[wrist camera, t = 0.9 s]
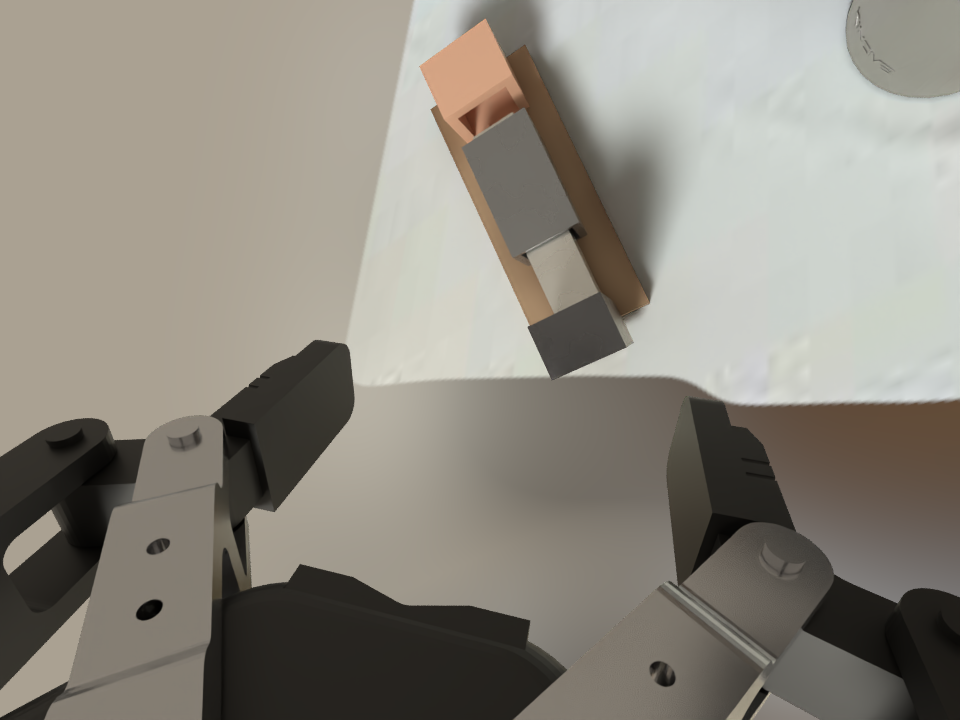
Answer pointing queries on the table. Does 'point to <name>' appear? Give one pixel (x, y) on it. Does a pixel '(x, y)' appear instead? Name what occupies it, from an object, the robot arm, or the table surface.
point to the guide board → (601, 239)
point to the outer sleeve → (522, 185)
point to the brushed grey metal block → (572, 307)
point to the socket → (473, 82)
